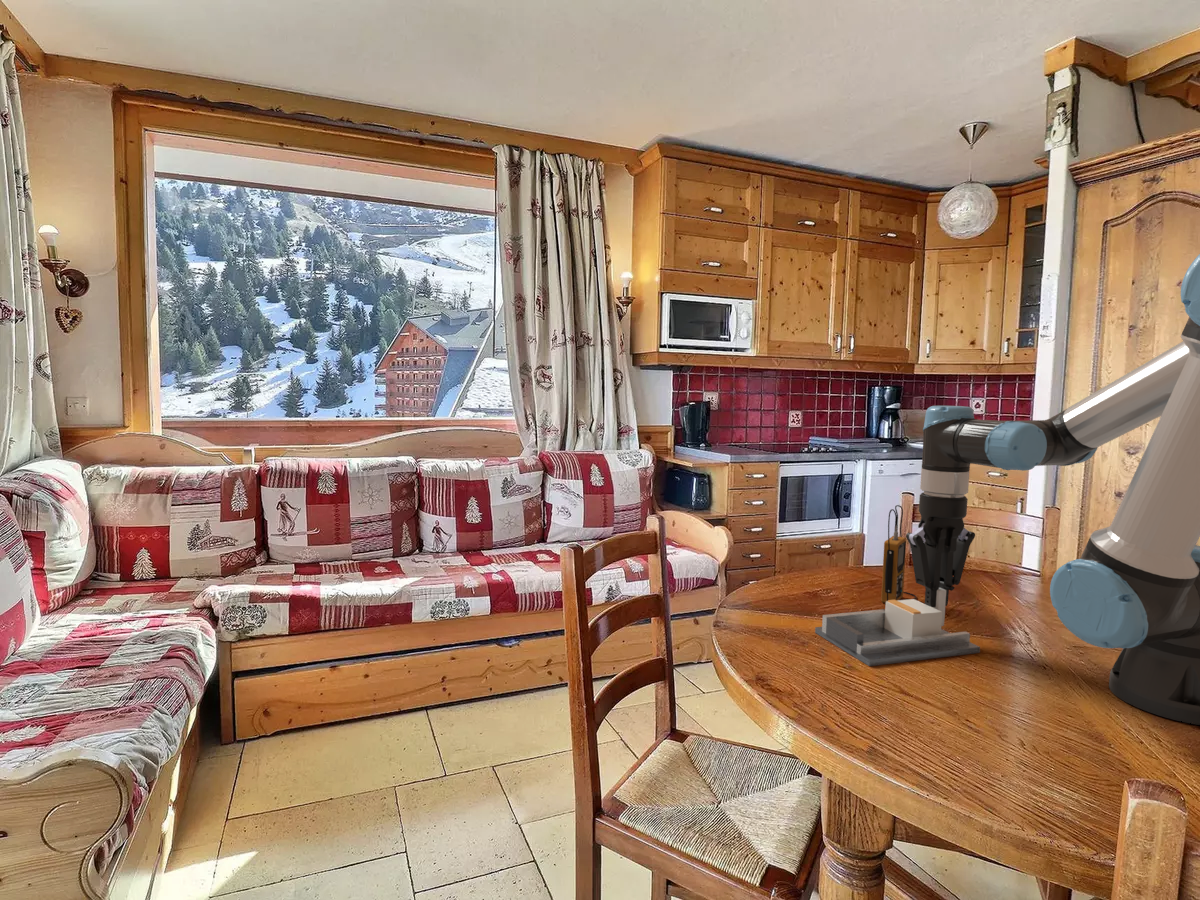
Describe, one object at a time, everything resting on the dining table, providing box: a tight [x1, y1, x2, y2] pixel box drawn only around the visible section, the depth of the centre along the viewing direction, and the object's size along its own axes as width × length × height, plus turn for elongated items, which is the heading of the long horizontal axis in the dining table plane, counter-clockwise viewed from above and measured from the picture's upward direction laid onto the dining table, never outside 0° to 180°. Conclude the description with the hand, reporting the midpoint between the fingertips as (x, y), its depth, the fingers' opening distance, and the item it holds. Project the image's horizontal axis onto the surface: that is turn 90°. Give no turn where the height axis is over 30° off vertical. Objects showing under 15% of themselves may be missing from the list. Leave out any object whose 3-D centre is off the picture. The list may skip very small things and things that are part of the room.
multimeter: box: [880, 504, 918, 604], centre depth 138 cm, size 15×10×20 cm
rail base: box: [814, 608, 981, 667], centre depth 117 cm, size 15×22×4 cm
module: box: [884, 598, 942, 638], centre depth 119 cm, size 7×6×5 cm
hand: (934, 623), depth 120 cm, fingers closed
